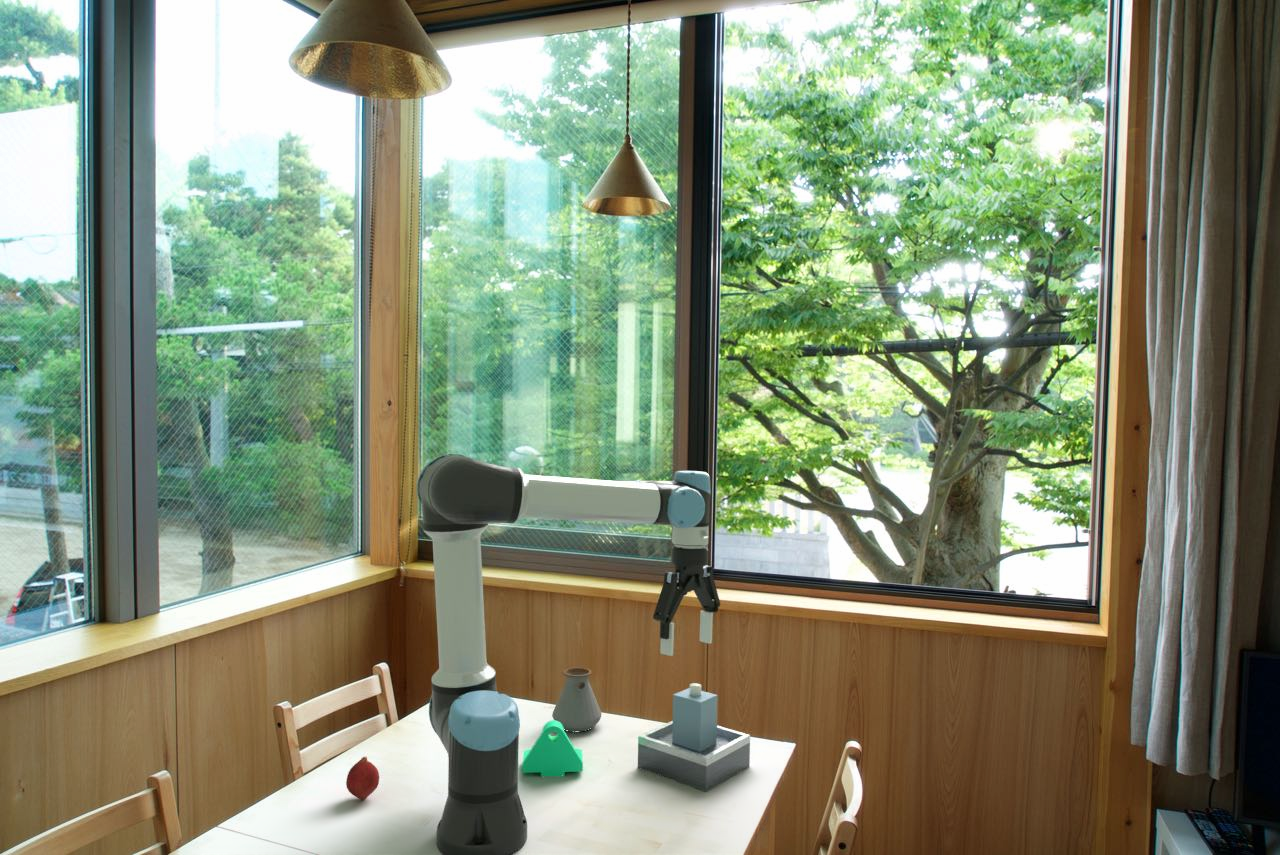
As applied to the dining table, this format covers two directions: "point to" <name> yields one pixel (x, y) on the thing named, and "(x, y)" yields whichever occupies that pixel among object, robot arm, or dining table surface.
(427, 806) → the dining table surface
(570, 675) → the coffee pot
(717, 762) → the open square box
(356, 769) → the onion
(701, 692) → the blue bottle
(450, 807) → the robot arm
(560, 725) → the camera mount
